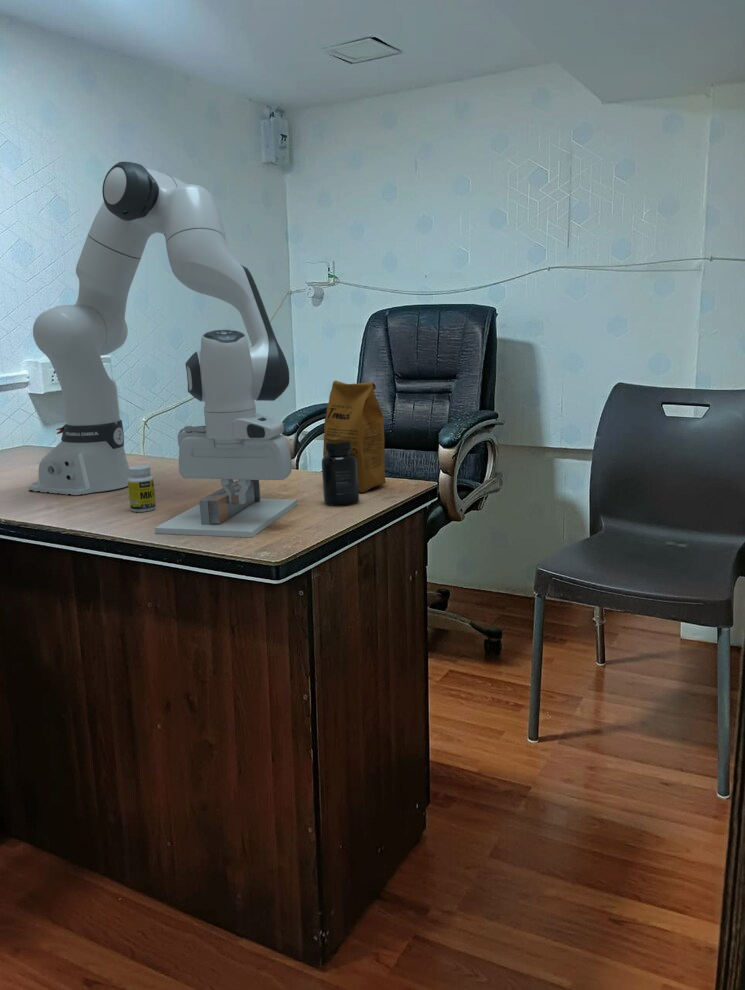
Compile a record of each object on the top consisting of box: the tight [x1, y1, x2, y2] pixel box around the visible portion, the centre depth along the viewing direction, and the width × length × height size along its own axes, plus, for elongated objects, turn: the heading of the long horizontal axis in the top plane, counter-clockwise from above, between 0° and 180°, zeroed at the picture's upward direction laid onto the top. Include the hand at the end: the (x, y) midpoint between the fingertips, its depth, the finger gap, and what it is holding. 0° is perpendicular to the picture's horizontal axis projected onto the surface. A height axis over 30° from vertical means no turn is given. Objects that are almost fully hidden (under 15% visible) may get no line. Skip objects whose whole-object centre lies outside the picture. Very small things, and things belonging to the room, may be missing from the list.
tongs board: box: [154, 480, 298, 538], centre depth 146 cm, size 18×22×6 cm
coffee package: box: [322, 380, 386, 493], centre depth 165 cm, size 10×12×22 cm
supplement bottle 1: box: [127, 464, 157, 513], centre depth 154 cm, size 5×5×8 cm
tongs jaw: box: [209, 481, 255, 524], centre depth 145 cm, size 2×16×4 cm, turn 165°
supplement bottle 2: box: [321, 439, 360, 507], centre depth 154 cm, size 7×7×12 cm
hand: (237, 503), depth 142 cm, fingers closed
